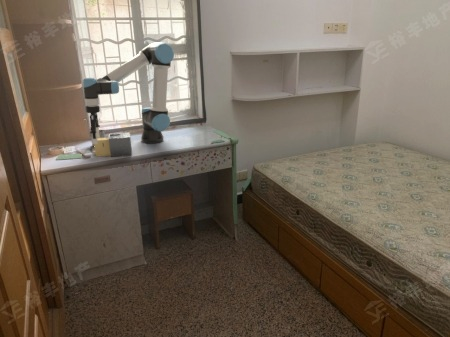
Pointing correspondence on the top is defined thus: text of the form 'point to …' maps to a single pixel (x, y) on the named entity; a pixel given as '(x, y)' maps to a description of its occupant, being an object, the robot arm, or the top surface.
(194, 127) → the top surface
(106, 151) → the yellow rectangular block
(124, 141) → the dispenser
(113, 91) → the robot arm
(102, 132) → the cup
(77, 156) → the pad
